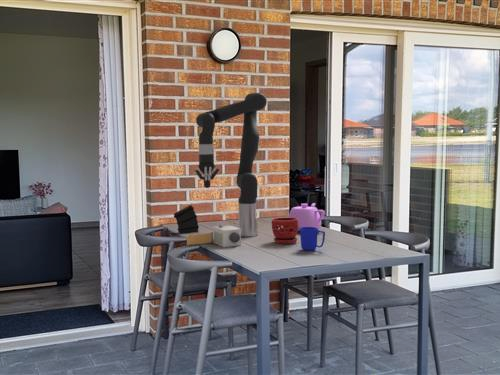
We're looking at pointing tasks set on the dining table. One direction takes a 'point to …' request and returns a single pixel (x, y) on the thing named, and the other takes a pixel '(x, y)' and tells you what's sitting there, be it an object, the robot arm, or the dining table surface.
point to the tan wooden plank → (200, 238)
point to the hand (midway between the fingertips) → (207, 187)
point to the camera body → (227, 235)
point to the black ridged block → (187, 220)
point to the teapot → (307, 216)
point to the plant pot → (285, 230)
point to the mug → (310, 238)
